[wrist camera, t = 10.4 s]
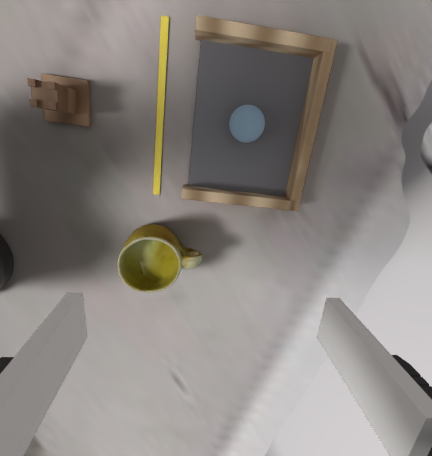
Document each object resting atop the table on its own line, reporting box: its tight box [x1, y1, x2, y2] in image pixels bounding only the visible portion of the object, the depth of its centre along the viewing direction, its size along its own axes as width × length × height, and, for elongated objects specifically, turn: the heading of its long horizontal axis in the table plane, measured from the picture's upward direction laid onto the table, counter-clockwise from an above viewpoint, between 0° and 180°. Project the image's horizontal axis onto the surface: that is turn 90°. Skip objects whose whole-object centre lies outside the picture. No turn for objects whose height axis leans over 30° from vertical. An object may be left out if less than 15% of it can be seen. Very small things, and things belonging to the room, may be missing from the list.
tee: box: [27, 74, 91, 127], centre depth 34 cm, size 6×6×6 cm
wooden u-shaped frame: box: [181, 15, 337, 211], centre depth 38 cm, size 18×23×4 cm
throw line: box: [153, 16, 169, 195], centre depth 38 cm, size 1×24×1 cm, turn 173°
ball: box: [229, 105, 265, 143], centre depth 37 cm, size 5×5×5 cm
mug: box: [117, 224, 202, 293], centre depth 42 cm, size 12×10×10 cm
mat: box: [188, 40, 314, 197], centre depth 39 cm, size 16×20×1 cm
